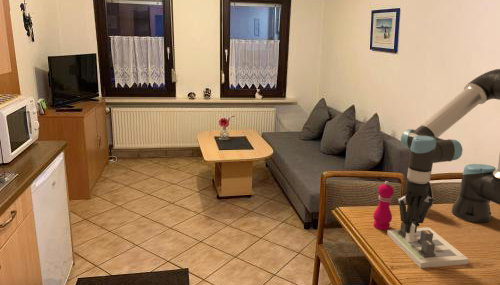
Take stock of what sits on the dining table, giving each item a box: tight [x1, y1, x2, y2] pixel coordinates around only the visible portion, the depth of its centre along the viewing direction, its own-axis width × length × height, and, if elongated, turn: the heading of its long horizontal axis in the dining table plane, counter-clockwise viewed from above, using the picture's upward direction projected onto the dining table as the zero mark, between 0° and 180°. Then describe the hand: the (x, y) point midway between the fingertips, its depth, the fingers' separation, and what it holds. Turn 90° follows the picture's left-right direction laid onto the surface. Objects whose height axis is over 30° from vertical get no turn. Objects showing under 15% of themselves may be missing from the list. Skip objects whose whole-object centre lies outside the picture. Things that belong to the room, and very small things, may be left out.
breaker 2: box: [419, 240, 436, 257], centre depth 138 cm, size 4×3×5 cm
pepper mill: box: [372, 180, 395, 231], centre depth 160 cm, size 7×7×20 cm
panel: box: [386, 226, 469, 269], centre depth 147 cm, size 18×23×2 cm
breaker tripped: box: [418, 230, 433, 245], centre depth 146 cm, size 4×3×5 cm
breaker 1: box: [398, 221, 406, 237], centre depth 152 cm, size 4×3×5 cm
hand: (409, 240), depth 145 cm, fingers closed
